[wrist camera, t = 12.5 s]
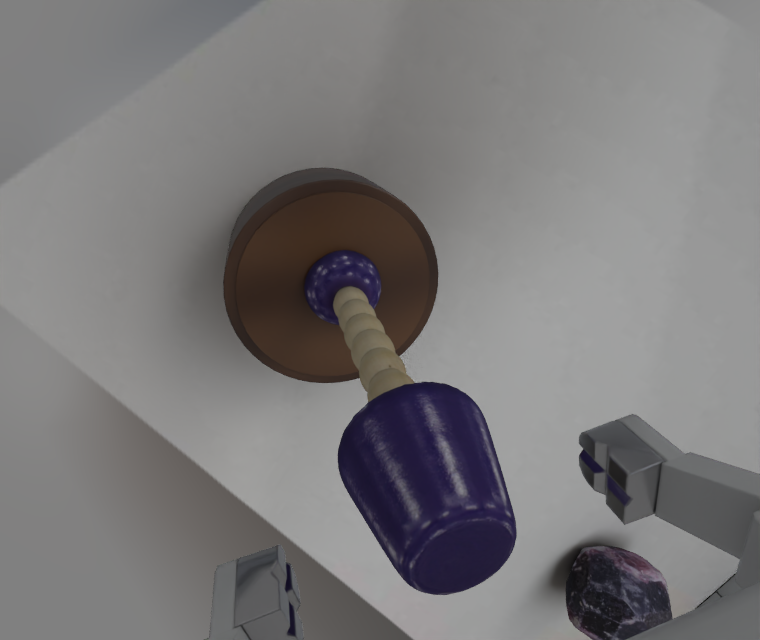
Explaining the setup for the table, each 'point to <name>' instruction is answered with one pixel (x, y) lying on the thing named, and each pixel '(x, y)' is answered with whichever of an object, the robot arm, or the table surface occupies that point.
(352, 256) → the toy lamp
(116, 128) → the table surface
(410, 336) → the wooden drum
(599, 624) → the mineral specimen
